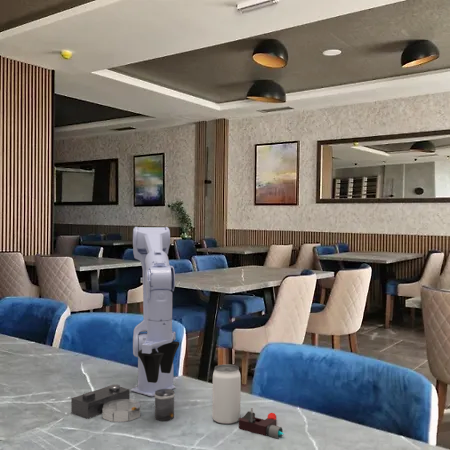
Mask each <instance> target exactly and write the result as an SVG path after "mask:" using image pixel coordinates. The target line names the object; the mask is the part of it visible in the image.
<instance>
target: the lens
mask: <svg viewBox="0 0 450 450" xmlns="http://www.w3.org/2000/svg"><path fill="white" fill-rule="evenodd" d="M175 395H176V393H175V391H174V389H160V390H157V391H155V396H154V419H155V420H156V421H159V422H168V421H172V420H174V419H175Z"/></svg>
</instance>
